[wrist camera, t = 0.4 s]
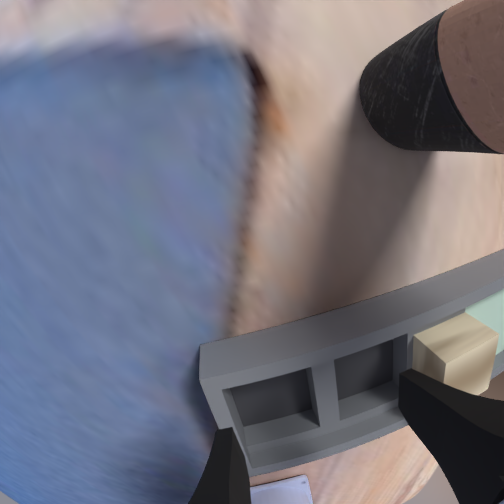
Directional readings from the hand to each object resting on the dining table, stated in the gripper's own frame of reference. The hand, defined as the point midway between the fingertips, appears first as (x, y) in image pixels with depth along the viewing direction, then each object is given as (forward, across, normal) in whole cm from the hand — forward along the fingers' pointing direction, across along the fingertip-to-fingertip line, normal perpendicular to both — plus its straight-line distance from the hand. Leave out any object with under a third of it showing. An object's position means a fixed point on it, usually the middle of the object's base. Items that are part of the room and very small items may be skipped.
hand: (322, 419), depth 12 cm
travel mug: (+10, -12, -13) cm, 20 cm away
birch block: (+7, -11, +5) cm, 14 cm away
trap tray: (+10, -8, +5) cm, 14 cm away
